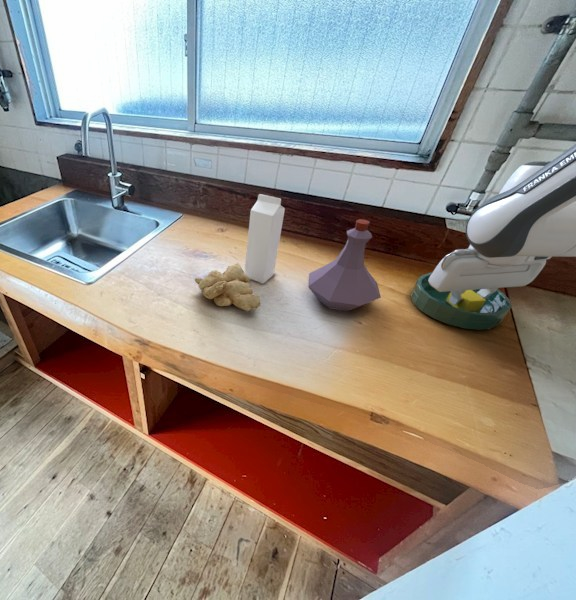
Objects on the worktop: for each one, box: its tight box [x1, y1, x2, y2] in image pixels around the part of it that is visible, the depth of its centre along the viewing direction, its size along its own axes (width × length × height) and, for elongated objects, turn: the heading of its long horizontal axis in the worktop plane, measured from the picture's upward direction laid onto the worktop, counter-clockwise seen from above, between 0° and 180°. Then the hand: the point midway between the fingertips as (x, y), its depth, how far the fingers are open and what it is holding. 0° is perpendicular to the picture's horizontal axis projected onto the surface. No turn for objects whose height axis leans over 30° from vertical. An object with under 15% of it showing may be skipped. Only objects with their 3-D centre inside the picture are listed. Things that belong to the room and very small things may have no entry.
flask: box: [307, 218, 382, 312], centre depth 72 cm, size 16×16×20 cm
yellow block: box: [446, 290, 486, 312], centre depth 72 cm, size 5×4×4 cm
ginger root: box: [194, 263, 262, 312], centre depth 79 cm, size 16×16×8 cm
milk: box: [243, 193, 286, 285], centre depth 82 cm, size 6×6×22 cm
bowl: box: [410, 272, 512, 331], centre depth 73 cm, size 17×17×4 cm
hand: (465, 302), depth 72 cm, fingers closed on yellow block, 3 cm apart
